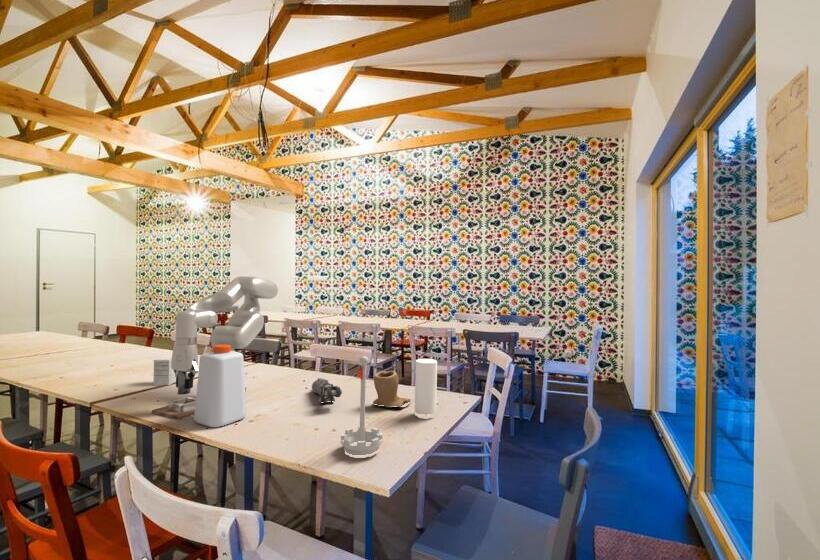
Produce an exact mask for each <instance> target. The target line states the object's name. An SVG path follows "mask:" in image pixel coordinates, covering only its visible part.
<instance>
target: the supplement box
mask: <svg viewBox="0 0 820 560" xmlns="http://www.w3.org/2000/svg"><path fill="white" fill-rule="evenodd" d="M171 361H172V356H161V357H158V358H156V359H154V360H153V385H152V386H157V387H159V386H158V385H163V386H164V385H166V386H167V385H168V386H170V385H172V384H174V383H176V377H175V372H174V370H173V369H172V368H171Z"/></svg>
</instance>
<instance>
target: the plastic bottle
mask: <svg viewBox="0 0 820 560" xmlns="http://www.w3.org/2000/svg"><path fill="white" fill-rule="evenodd" d="M244 361H245V360H244V354H243V353H242V352H239V351H231V346H230V345H226V344H223V345H215V346H214V347H213V348H212V351H210V352H206V353H205V352H204V353H202V354H201V355H200V356H199V362H198V370H199V372H198V373H197V374H198V375H197V382H196V383H197V385H196V394H195V395H196V396H195V398H196V403H195V413H194V415H193V420H194V422H195V423H197V424H199V425H202V426H205V427H208V428H221V427H220V426H222V427H225V426H228V425H230V423H231V424H234V423H236V422H235V421H237V422H238V420H240V421H242V420H244V419H245V418H246V416H247V405H246V403H247V402H246V400H247V399H246V391H245V387H246V383H245V366H244V364H245V363H244ZM243 418H244V419H243ZM241 419H242V420H241ZM233 422H234V423H233ZM227 424H228V425H227ZM224 425H225V426H224Z"/></svg>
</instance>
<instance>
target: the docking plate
mask: <svg viewBox="0 0 820 560" xmlns="http://www.w3.org/2000/svg"><path fill="white" fill-rule="evenodd" d="M195 403H196V397H195V398H194V397H189V396H188V397H186V396H185V397H181V398H179V399H178V398H177V399H175V400H172V401H168V405H165V406H162V407H158V408H155V409H152V410H151V414H154V415H158V416H161V417H165V416H166V418H170V417H171V418H170V419H174V418H175V420H178V419H179V420H178V421H180V419H181V420H184V419H186V417H187V418H190V417H192V416H191V415H193V416H194V413H195ZM189 416H190V417H189ZM183 418H184V419H183Z"/></svg>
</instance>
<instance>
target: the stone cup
mask: <svg viewBox="0 0 820 560" xmlns="http://www.w3.org/2000/svg"><path fill="white" fill-rule="evenodd" d="M373 384H374V385H373V386H374V388H375V391H376V394H377V398H376V399H374V401H372V404H373V405H374V404H377V405H384V406H397V407H401V406H402V405H404V404H405V403H408V402H410V401H411V398H405V397H399V396H398V388H399V375H398V373H397V372H396V371H394V370H388V371H385V370H383V371H379V372H376V373H375V374H374V376H373ZM410 403H411V402H410Z"/></svg>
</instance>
